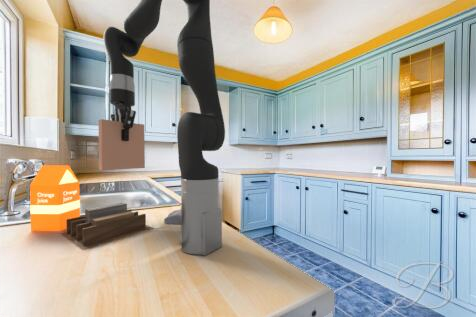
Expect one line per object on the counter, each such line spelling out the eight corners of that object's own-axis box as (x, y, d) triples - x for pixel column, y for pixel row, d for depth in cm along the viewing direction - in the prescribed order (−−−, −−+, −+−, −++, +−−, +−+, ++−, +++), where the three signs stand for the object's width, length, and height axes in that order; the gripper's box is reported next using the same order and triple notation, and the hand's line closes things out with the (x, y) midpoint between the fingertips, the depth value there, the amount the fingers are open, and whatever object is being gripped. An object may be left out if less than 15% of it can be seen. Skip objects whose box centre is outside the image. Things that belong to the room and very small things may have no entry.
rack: (154, 231, 62) (154, 214, 62) (83, 254, 48) (82, 233, 48) (125, 220, 73) (125, 206, 73) (60, 236, 59) (59, 219, 59)
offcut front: (134, 229, 62) (134, 212, 62) (95, 240, 54) (95, 221, 53) (129, 227, 63) (129, 210, 63) (91, 237, 55) (91, 219, 55)
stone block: (162, 233, 66) (193, 227, 66) (159, 218, 66) (190, 212, 66) (174, 222, 78) (200, 217, 78) (172, 210, 78) (197, 204, 78)
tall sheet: (144, 167, 76) (144, 124, 76) (102, 170, 65) (101, 119, 65) (141, 167, 78) (140, 125, 78) (99, 169, 66) (98, 120, 66)
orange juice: (54, 225, 68) (53, 164, 68) (80, 225, 68) (79, 164, 68) (29, 234, 60) (28, 166, 60) (59, 234, 60) (58, 166, 60)
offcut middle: (127, 226, 64) (126, 203, 64) (89, 236, 56) (89, 210, 56) (122, 224, 66) (122, 202, 66) (85, 233, 58) (85, 209, 58)
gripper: (143, 89, 70) (144, 140, 70) (124, 96, 78) (124, 142, 78) (120, 83, 64) (121, 139, 64) (101, 92, 72) (102, 141, 72)
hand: (123, 141), depth 71 cm, fingers closed on tall sheet, 2 cm apart
